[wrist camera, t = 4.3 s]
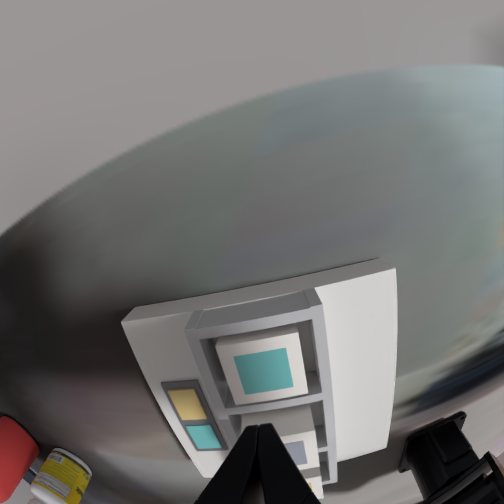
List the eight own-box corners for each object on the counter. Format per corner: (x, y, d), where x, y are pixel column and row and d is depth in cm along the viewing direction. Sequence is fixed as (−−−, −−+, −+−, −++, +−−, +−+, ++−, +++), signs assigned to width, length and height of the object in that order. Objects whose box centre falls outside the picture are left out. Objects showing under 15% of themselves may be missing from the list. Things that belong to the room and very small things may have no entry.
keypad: (379, 430, 18) (393, 465, 14) (206, 459, 19) (200, 495, 15) (379, 257, 14) (413, 280, 11) (134, 307, 15) (104, 339, 12)
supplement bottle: (88, 479, 21) (62, 533, 12) (52, 454, 21) (20, 505, 11) (97, 468, 20) (68, 531, 11) (56, 440, 20) (19, 498, 10)
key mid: (314, 440, 13) (319, 466, 11) (256, 449, 14) (255, 476, 12) (309, 402, 13) (315, 430, 11) (242, 413, 13) (240, 441, 11)
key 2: (319, 476, 14) (323, 498, 12) (270, 483, 15) (270, 506, 13) (316, 451, 14) (320, 476, 12) (260, 460, 14) (260, 485, 12)
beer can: (33, 430, 20) (-14, 493, 8) (47, 458, 21) (11, 516, 10) (-3, 405, 20) (-50, 457, 8) (12, 435, 21) (-26, 485, 9)
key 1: (302, 368, 14) (308, 393, 12) (238, 379, 14) (235, 405, 12) (292, 311, 13) (298, 332, 11) (221, 325, 13) (215, 346, 11)
